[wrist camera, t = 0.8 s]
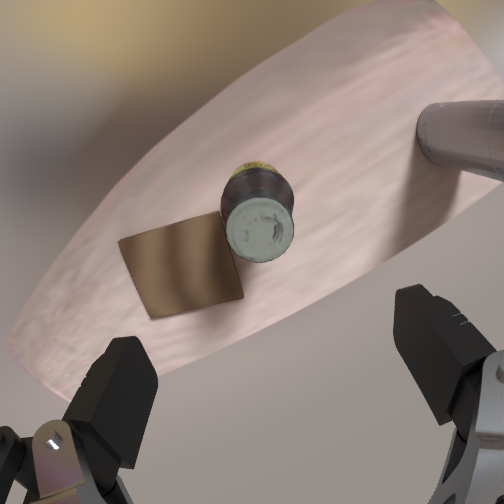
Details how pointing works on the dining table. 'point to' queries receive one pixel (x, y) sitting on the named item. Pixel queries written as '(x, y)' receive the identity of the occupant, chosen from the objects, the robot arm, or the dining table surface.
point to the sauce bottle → (258, 212)
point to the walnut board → (182, 266)
